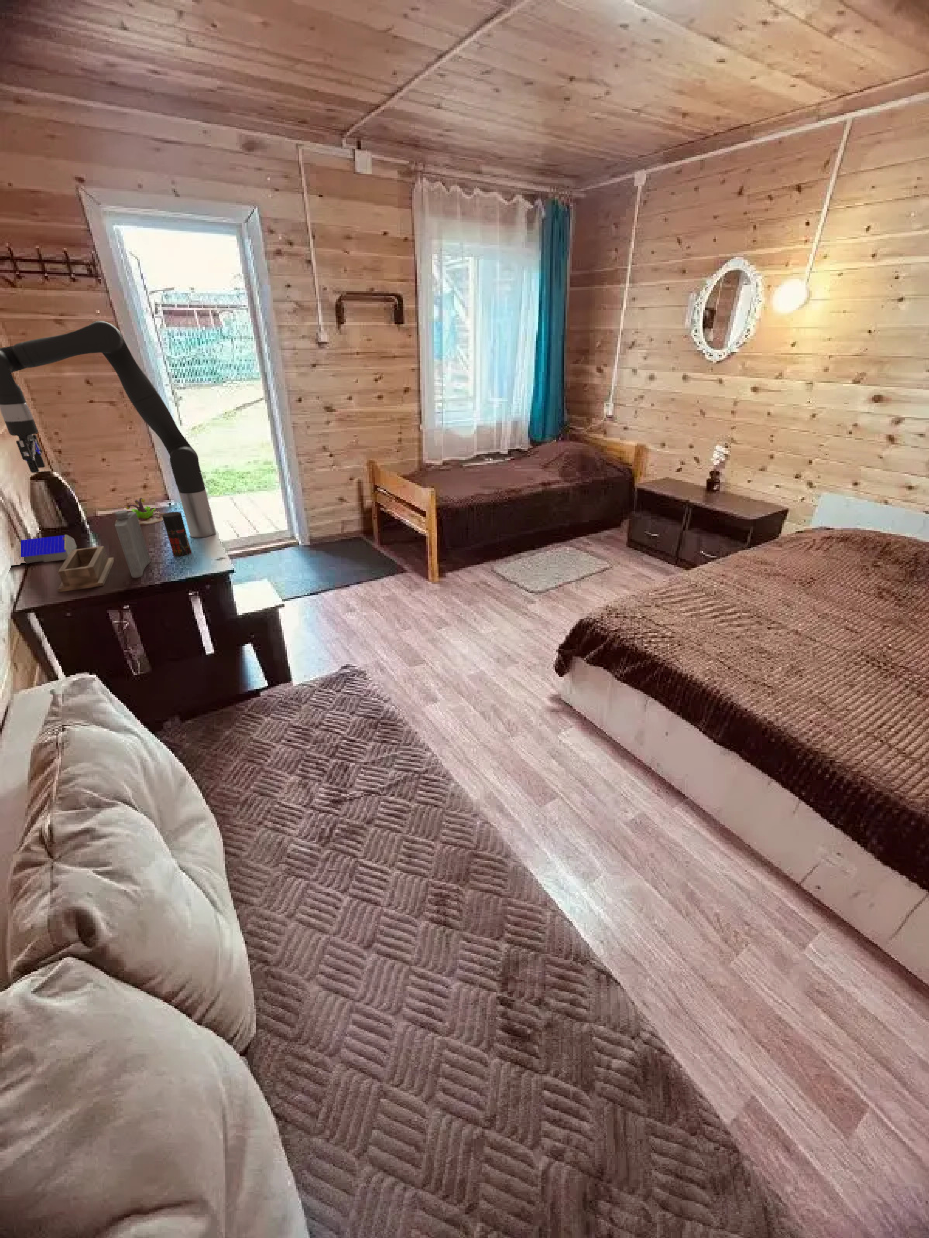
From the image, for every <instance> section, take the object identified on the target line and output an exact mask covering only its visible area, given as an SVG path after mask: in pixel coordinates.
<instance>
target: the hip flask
mask: <svg viewBox="0 0 929 1238" xmlns="http://www.w3.org/2000/svg"><path fill="white" fill-rule="evenodd" d="M114 515H115V516H116V520H117V521H116V520H115V521H116V522H115V523H114V527H115V530H116V533H117V537H118V539H119V542H120V545H121V549H122V551H123V554H124V558H125V561H126V564H127V566H128V569H129V573H130V575H131V578H134V579H137V578H141V577H142V576H143V575H144V574H143V573H144V570H145V569H146V567H147V566H148V565H149V564H150V563H151V562H152V561H151V556H150V554H149V549H148V547H147V544H146V541H145V537H144V535H143V531H142V528H141V526H140V524H139V521H138V518H137V514H136V512H132V511H130V512H128V510H127V509H126V510H125V509H124V510H123V509H122V510H117V511H115V512H114Z"/></svg>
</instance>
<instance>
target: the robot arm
mask: <svg viewBox="0 0 929 1238" xmlns="http://www.w3.org/2000/svg"><path fill="white" fill-rule="evenodd" d="M87 354H88V355H89V354H102V355H103V357H105V359H106V360H107V362H108V363H109V364H110V365H111V367H112V368H113V370H114V371H115V373H116V374H117V376H118V379H119V381H120V384H121V385H122V388H123V389H124V392H125V394H126V396H127V398H128V399H129V401H130V402H131V404H132V406H133V407H134V408H135V409H134V410H136V412H137V413H138V414H139V416H140V417H141V418H142V420H143V421H144V422H145V423H146V424H147V426H148V427H150V429H151V430H152V431H153V433H155V434H156V435H157V436H158V438H159V439H160V441H161V443H162V444H163V445H164V448H165V450H166V451H167V453H168V455H169V463H170V467H171V471H172V474H173V478H174V482H175V484H176V487H177V490H178V495H179V498H180V502H181V505H182V509H183V513H184V517H185V521H186V525H187V529H188V532H189V533H188V534H189V535H190V537H192V538H206V537H210V536H214V535H217V532H216V531H217V530H216V526H215V522H214V518H213V514H212V508H211V507H210V503H209V499H208V498H209V497H208V494H207V490H206V485H205V483H204V479H203V475H202V470H201V467H200V466H201V465H200V462H199V455H198V453H197V451H196V450H195V449H194V448H193V446H192V445H191V444H190V442H188V441H187V439H186V438H185V436H184V435H183V434H182V432H181V431H180V429H179V428H178V426H177V424H176V422H175V420H174V418H173V416H172V415H171V412H170V410H169V409H168V406H167V405H166V404H165V402H164V400H163V399H162V397H161V396H160V394H159V393H158V391H157V389H156V388H155V387H154V385H153V383H152V382H151V380H150V379H149V378H148V376H147V375H146V374H145V373H144V371H143V370H142V368H141V367H140V366H139V364H138V363H137V361H136V359H135V358H134V356H133V354H132V353H131V350H130V348H129V347H128V345H127V343H126V340H125V338H124V337H123V335H122V332H121V331H120V330H119V329H118V327H116V326H115V325H114V324H112V323H110V322H107V321H104V320H95V321H94V322H91V323H90V324H88V325H86V326H84V327H82V328H79V329H77V330H75V331H70V332H66V333H64V334H63V333H62V334H58V335H53V336H47V337H41V338H36V339H35V338H34V339H31V340H26V341H22V342H19V343H16V344H14V345H12V346H11V345H9V346H5V347H0V413H1V416H2V418H3V421H4V423H5V425H6V428H7V430H8V434H9V435H10V436H13V437H15V436H17V437H18V440H16V444H17V447H18V451H19V454H20V456H21V459H22V461H25V462H26V463H27V466H28V469H29V471H30V473H31V474H35V473H39V472H40V468H45V467H46V465H45V462H44V459H43V457H42V456H43V450H42V448H41V447H42V446H41V445H40V442H39V439H38V438H37V437H38V436H37V435H36V434H38V433H39V430H38V428H37V424H36V422H35V420H34V417H33V414H32V412H31V409H30V408H29V405H28V403H27V401H26V398H25V396H24V393H23V391H22V389H21V387H20V385H18V384H17V383H16V381H15V379H14V376H13V374H12V373H15V372H18V371H22V370H25V369H30V368H37V367H40V366H41V367H43V366H46V365H49V364H54V363H56V362H57V363H58V362H60V361H63V360H66V359H69V358H72V357H76V356H82V355H87Z"/></svg>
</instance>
